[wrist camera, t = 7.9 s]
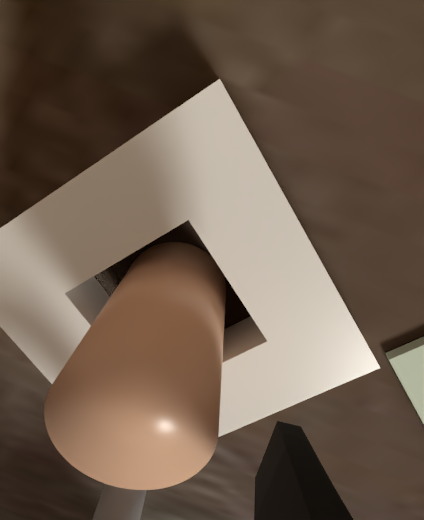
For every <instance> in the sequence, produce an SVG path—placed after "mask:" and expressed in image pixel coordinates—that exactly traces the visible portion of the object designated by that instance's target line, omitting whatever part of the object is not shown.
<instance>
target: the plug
mask: <svg viewBox="0 0 424 520" xmlns="http://www.w3.org/2000/svg"><path fill="white" fill-rule="evenodd" d="M225 301H226V282H225V278H224V275H223V273H222V271H221V269H220V268H219V266H218V265H217V263H216V261H215V260H214V259H213V258H212V257H211V256H210V255H209V254H208V253H206V252H205V251H203V250H202V249H200V248H198V247H196V246H194V245H191V244H188V243H183V242H164V243H160V244H157V245H154V246H152V247H150V248H148V249H146V250H145V251H143V252H142V253H141V254H140V255H139V256H138V257H137V258H136V259H135V261H134V262H133V264H132V265H131V267H130V268H129V270H128V271H127V273H126V274H125V276H124V277H123V279H122V280H121V282H120V283H119V285H118V286H117V288H116V289H115V291H114V292H113V294H112V295H111V297H110V298H109V300H108V301H107V303H106V304H105V306H104V307H103V309H102V310H101V312H100V313H99V315H98V316H97V318H96V319H95V321H94V322H93V324H92V325H91V327H90V328H89V330H88V331H87V333H86V334H85V336H84V337H83V339H82V340H81V342H80V343H79V345H78V346H77V348H76V349H75V351H74V352H73V354H72V355H71V357H70V358H69V360H68V361H67V363H66V364H65V366H64V367H63V369H62V370H61V372H60V373H59V375H58V376H57V378H56V379H55V381H54V382H53V384H52V386H51V387H50V389H49V391H48V394H47V397H46V400H45V405H44V419H45V425H46V428H47V432H48V434H49V436H50V439H51V441H52V443H53V444H54V446H55V447H56V449H57V450H58V451H59V453H60V454H61V455H62V456H63V457H64V458H65V459H66V460H67V461H68V462H69V463H70V464H71V465H72V466H74V467H75V468H76V469H78V470H79V471H81V472H82V473H84V474H85V475H87V476H89V477H91V478H93V479H95V480H97V481H100V482H102V483H105V484H108V485H111V486H115V487H119V488H125V489H132V490H153V489H161V488H166V487H170V486H173V485H176V484H179V483H181V482H183V481H185V480H187V479H189V478H190V477H192V476H194V475H195V474H196V473H198V472H199V471H200V470H201V469H202V468H203V467H204V466H205V465H206V464H207V463H208V461H209V460H210V458H211V457H212V455H213V453H214V451H215V448H216V445H217V441H218V434H219V415H220V396H221V377H222V358H223V339H224V320H225Z"/></svg>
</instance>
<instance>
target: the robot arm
mask: <svg viewBox="0 0 424 520" xmlns="http://www.w3.org/2000/svg"><path fill="white" fill-rule="evenodd" d="M254 520H353V518H352V516H351V515H350V513H349V511H348V510H347V508H346V506H345V505H344V503H343V501H342V500H341V498H340V496H339V495H338V493H337V491H336V489H335V488H334V486H333V484H332V482H331V481H330V479H329V477H328V475H327V473H326V472H325V470H324V468H323V466H322V464H321V463H320V461H319V459H318V457H317V455H316V453H315V452H314V450H313V448H312V446H311V444H310V442H309V441H308V439H307V437H306V435H305V433H304V432H303V430H302V428H301V427H300V426H296V425H292V424H287V423H283V422H279V421H277V424H276V426H275V429H274V431H273V434H272V436H271V439H270V442H269V444H268V447H267V449H266V452H265V454H264V457H263V460H262V462H261V465H260V467H259V470H258V472H257V475H256V477H255V514H254Z"/></svg>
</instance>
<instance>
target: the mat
mask: <svg viewBox="0 0 424 520" xmlns="http://www.w3.org/2000/svg"><path fill="white" fill-rule="evenodd" d="M385 354H386V356H387V358H388V360H389V362H390V364H391V365H392V367H393V369H394V371H395V373H396V375H397V376H398V378H399V380H400V382H401V384H402V386H403V388H404V389H405V391H406V393H407V395H408V397H409V399H410V400H411V402H412V404H413V406H414V408H415V410H416V411H417V413H418V415H419V417H420V419H421V421H422V423H423V424H424V337H421V338H419V339H417V340H414V341H412V342H410V343H407V344H405V345H403V346H401V347H398V348H396V349H394V350H391V351H389V352H387V353H385Z"/></svg>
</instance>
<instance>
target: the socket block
mask: <svg viewBox="0 0 424 520" xmlns="http://www.w3.org/2000/svg"><path fill="white" fill-rule="evenodd" d="M187 220H189V221H190V223H191V225H192V226H193V228H194V229H195V231H196V232H197V234H198V235H199V237H200V238H201V240H202V241H203V243H204V245H205V246H206V248H207V249H208V251H209V252H210V254H211V255H212V257H213V258H214V260H215V261H216V263H217V265H218V266H219V268H220V269H221V271H222V272H223V274H224V275H225V277H226V278H227V280H228V281H229V283H230V285H231V286H232V288H233V289H234V291H235V292H236V294H237V295H238V297H239V298H240V300H241V301H242V303H243V305H244V306H245V308H246V309H247V311H248V312H249V314H250V315H251V316H250V317H248V318H246V319H244V320H242V321H240V322H238V323H236V324H234V325H232V326H230V327H228V328H226V329H224V339H223V358H222V377H221V396H220V415H219V434H218V437H220V436H222V435H224V434H227V433H229V432H231V431H234V430H236V429H238V428H241V427H243V426H245V425H248V424H250V423H252V422H255V421H257V420H259V419H262V418H264V417H266V416H269V415H271V414H273V413H276V412H278V411H280V410H283V409H285V408H287V407H290V406H292V405H294V404H297V403H299V402H302V401H304V400H306V399H309V398H311V397H313V396H316V395H318V394H320V393H323V392H325V391H327V390H330V389H332V388H334V387H337V386H339V385H341V384H344V383H346V382H348V381H351V380H353V379H355V378H358V377H360V376H362V375H365V374H367V373H369V372H372V371H374V370H376V369H379V368H380V367H379V365H378V363H377V361H376V359H375V358H374V356H373V354H372V352H371V350H370V349H369V347H368V345H367V343H366V341H365V340H364V338H363V336H362V334H361V332H360V331H359V329H358V327H357V325H356V323H355V322H354V320H353V318H352V316H351V314H350V313H349V311H348V309H347V307H346V305H345V304H344V302H343V300H342V298H341V296H340V295H339V293H338V291H337V289H336V287H335V286H334V284H333V282H332V280H331V278H330V277H329V275H328V273H327V271H326V269H325V268H324V266H323V264H322V262H321V260H320V259H319V257H318V255H317V253H316V251H315V250H314V248H313V246H312V244H311V242H310V241H309V239H308V237H307V235H306V233H305V232H304V230H303V228H302V226H301V224H300V223H299V221H298V219H297V217H296V215H295V214H294V212H293V210H292V208H291V206H290V205H289V203H288V201H287V199H286V197H285V195H284V194H283V192H282V190H281V188H280V186H279V185H278V183H277V181H276V179H275V177H274V176H273V174H272V172H271V170H270V168H269V167H268V165H267V163H266V161H265V159H264V158H263V156H262V154H261V152H260V150H259V149H258V147H257V145H256V143H255V141H254V140H253V138H252V136H251V134H250V132H249V131H248V129H247V127H246V125H245V123H244V122H243V120H242V118H241V116H240V114H239V113H238V111H237V109H236V107H235V105H234V104H233V102H232V100H231V98H230V96H229V95H228V93H227V91H226V89H225V87H224V86H223V84H222V82H221V80H220V79H218V80H217V81H216V82H214V83H213V84H211V85H210V86H208V87H207V88H205V89H204V90H202V91H201V92H199V93H198V94H196V95H195V96H194V97H192V98H191V99H189V100H188V101H186V102H185V103H183V104H182V105H180V106H179V107H177V108H176V109H174V110H173V111H171V112H170V113H169V114H167V115H166V116H164V117H163V118H161V119H160V120H158V121H157V122H155V123H154V124H152V125H151V126H149V127H148V128H147V129H145V130H144V131H142V132H141V133H139V134H138V135H136V136H135V137H133V138H132V139H130V140H129V141H127V142H126V143H125V144H123V145H122V146H120V147H119V148H117V149H116V150H114V151H113V152H111V153H110V154H108V155H107V156H105V157H104V158H103V159H101V160H100V161H98V162H97V163H95V164H94V165H92V166H91V167H89V168H88V169H86V170H85V171H83V172H82V173H80V174H79V175H78V176H76V177H75V178H73V179H72V180H70V181H69V182H67V183H66V184H64V185H63V186H61V187H60V188H58V189H57V190H56V191H54V192H53V193H51V194H50V195H48V196H47V197H45V198H44V199H42V200H41V201H39V202H38V203H36V204H35V205H34V206H32V207H31V208H29V209H28V210H26V211H25V212H23V213H22V214H20V215H19V216H17V217H16V218H14V219H13V220H12V221H10V222H9V223H7V224H6V225H4V226H3V227H1V228H0V327H1V328H2V329H3V330H4V331H5V332H6V333H7V334H8V336H9V337H10V338H11V339H12V340H13V341H14V342H15V343H16V344H17V346H18V347H19V348H20V349H21V350H22V351H23V352H24V353H25V355H26V356H27V357H28V358H29V359H30V360H31V361H32V362H33V363H34V365H35V366H36V367H37V368H38V369H39V370H40V371H41V372H42V374H43V375H44V376H45V377H46V378H47V379H48V380H49V381H50V382H51V384H53V382H54V381H55V379H56V378H57V376H58V375H59V373H60V372H61V370H62V369H63V367H64V366H65V364H66V363H67V361H68V360H69V358H70V357H71V355H72V354H73V352H74V351H75V349H76V348H77V346H78V345H79V343H80V342H81V340H82V339H83V337H84V336H85V334H86V333H87V331H88V330H89V328H90V327H91V325H92V324H93V322H94V321H95V319H96V318H97V316H98V315H99V313H100V312H101V310H102V309H103V307H104V306H105V304H106V303H107V301H108V300H109V298H110V296H109V295H108V293H107V292H106V291H105V290H104V288H103V287H102V286H101V284H100V283H99V282H98V280H97V279H96V278H95V277H94V276H95V275H96V274H98V273H100V272H102V271H103V270H105V269H107V268H108V267H110V266H112V265H113V264H115V263H117V262H118V261H120V260H122V259H123V258H125V257H127V256H128V255H130V254H132V253H134V252H135V251H137V250H139V249H140V248H142V247H144V246H145V245H147V244H149V243H150V242H152V241H154V240H155V239H157V238H159V237H160V236H162V235H164V234H165V233H167V232H169V231H171V230H172V229H174V228H176V227H177V226H179V225H181V224H182V223H184V222H186V221H187ZM146 491H147V490H132V489H125V488H119V487H115V486H111V485H108V484H105V485H104V488H103V491H102V493H101V496H100V499H99V502H98V505H97V508H96V511H95V513H94V516H93V519H92V520H140V517H141V513H142V508H143V504H144V500H145V495H146Z"/></svg>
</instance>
